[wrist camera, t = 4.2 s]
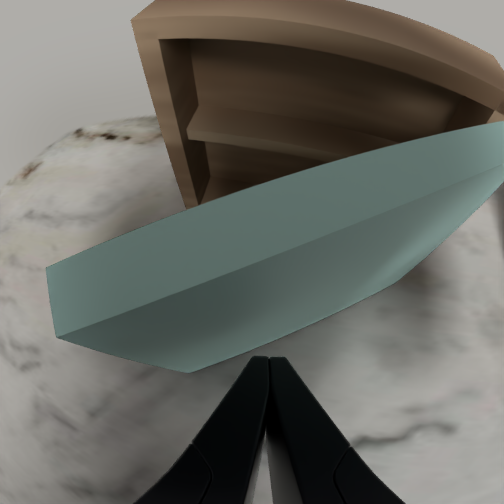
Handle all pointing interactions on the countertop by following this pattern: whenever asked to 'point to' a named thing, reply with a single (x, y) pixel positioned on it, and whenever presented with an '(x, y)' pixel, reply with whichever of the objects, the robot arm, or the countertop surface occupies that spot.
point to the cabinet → (300, 86)
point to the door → (273, 253)
